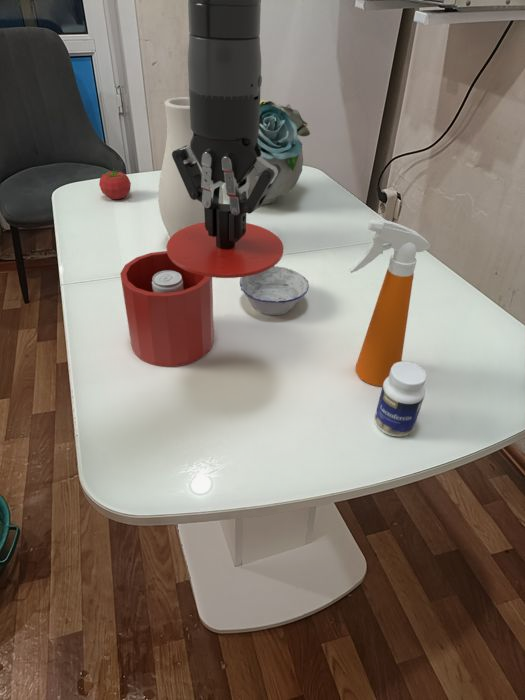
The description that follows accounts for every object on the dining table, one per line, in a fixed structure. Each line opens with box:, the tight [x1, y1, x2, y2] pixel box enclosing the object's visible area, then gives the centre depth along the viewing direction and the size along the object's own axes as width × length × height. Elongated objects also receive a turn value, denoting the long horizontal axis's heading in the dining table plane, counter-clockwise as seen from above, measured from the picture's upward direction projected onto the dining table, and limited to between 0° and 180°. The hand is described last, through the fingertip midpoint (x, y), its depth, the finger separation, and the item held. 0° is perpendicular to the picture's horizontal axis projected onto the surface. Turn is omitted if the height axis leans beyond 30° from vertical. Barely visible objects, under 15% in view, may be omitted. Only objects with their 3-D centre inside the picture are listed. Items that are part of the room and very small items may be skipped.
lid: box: [166, 203, 284, 279], centre depth 64 cm, size 15×15×6 cm
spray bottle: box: [349, 218, 432, 387], centre depth 75 cm, size 7×11×26 cm, turn 94°
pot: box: [120, 250, 215, 368], centre depth 83 cm, size 14×14×14 cm
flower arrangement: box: [248, 99, 311, 206], centre depth 131 cm, size 25×25×24 cm
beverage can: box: [152, 271, 184, 293], centre depth 84 cm, size 5×5×12 cm
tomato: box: [98, 168, 132, 200], centre depth 133 cm, size 8×8×8 cm
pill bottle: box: [374, 360, 427, 437], centre depth 71 cm, size 6×6×10 cm
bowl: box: [239, 265, 310, 316], centre depth 96 cm, size 13×13×5 cm
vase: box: [157, 96, 224, 238], centre depth 106 cm, size 14×14×30 cm
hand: (225, 236), depth 64 cm, fingers closed on lid, 2 cm apart
